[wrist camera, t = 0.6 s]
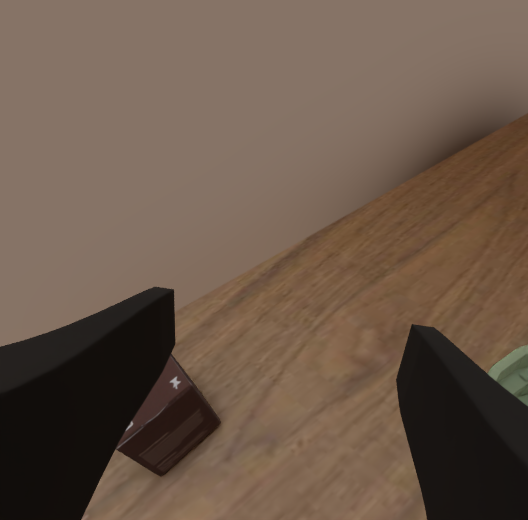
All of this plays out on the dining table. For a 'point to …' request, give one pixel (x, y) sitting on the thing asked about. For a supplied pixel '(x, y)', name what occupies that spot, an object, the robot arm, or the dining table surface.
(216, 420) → the box
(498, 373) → the green bowl
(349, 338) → the dining table surface
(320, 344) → the dining table surface
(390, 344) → the dining table surface
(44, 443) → the robot arm
